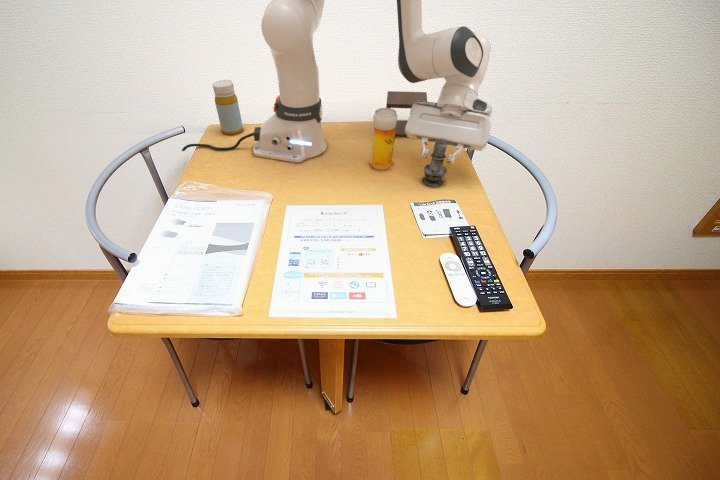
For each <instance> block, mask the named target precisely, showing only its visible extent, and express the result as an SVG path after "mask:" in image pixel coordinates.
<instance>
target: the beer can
mask: <svg viewBox="0 0 720 480" xmlns="http://www.w3.org/2000/svg"><path fill="white" fill-rule="evenodd" d="M397 120H398V114H397V111H396V110H395V108H386V107H381V108H377V109H376V110H375V111H374V114H373V118H372V130H371V144H370V159H369V160H370V161H369V163H370V165H371V167H372V168H374V169H375V170H380V171H381V170H382V171H383V170H387V169H389V168H390V167H391V166H392V164H393V157H394V151H395V142H396V141H395V139H396V136H395V133H396V124H397Z"/></svg>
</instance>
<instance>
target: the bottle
mask: <svg viewBox="0 0 720 480" xmlns="http://www.w3.org/2000/svg"><path fill="white" fill-rule="evenodd" d="M212 89H213V93H214V105H215V107H216V112H217V116H218V121H219V124H220V129H221V132H222V133H223V134H225V135H227V136H234V135H238V134H241V132H242V131H243V129H244V127H243V126H244V125H243V121H242V115H241V111H240V106H239V105H240V104H239V100H238V96H237V95H236V93H235V87H234V82H233V81H232V80H229V79H221V80H216V81H214V82H213V83H212Z"/></svg>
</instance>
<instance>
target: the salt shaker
mask: <svg viewBox="0 0 720 480" xmlns="http://www.w3.org/2000/svg"><path fill="white" fill-rule="evenodd" d="M447 147H448V145H446V143H445V142H443V139H441V141H438V142H434V146H433V149H432V153H431V154H430V158H431V159H430V160H431V161H430V163H428V164H426V165H424V167H423V171H424V177H423V178H422V183H423V184H424V185H425V186H427V187H431V188H439V187H441V186H443V185H444V180H443V178H444V177H445V176H446V174H447V173H448V169H447V167H446V166H444V161H445V159H446V158H447V157H446V156H447V155H446V151H447Z"/></svg>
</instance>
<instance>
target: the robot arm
mask: <svg viewBox="0 0 720 480" xmlns="http://www.w3.org/2000/svg"><path fill="white" fill-rule="evenodd" d="M324 5H325V0H271V1H270V2H268V4H267V6H266V8H265V10H264V11H263V12H264V13H263V16H262V18H261V27H260V28H261V33H262V36H263V39H264V41H265V42H266V44H267V46H268V47H269V49H270V53H271V56H272V59H273V63H274V66H275V69H276V76H277V82H278V83H277V85H278V91H279V94H278V95H277V97H276V98H275V102H274V104H273V105H274V106H273V108H272V110H273V113H274V114H273V115H271V116H270V117H269V118H268V119H267V120H266V121H264V122H263V124H262V126H255V127H254V129H253V132H251V133H249V134H246V135H243V136H242V137H240V138H239V139H238V140H237V142H236V143H235V144H234V145H232V146H229V147H220V146H219V147H218V146H213V145H211V144H208V143H189V144H186V145H184V146H183V147H182V149H181V152H185V151H186V150H187V149H188V148H192V147H200V148H201V147H202V148H209V149H212V150H216V151H232V150H234V149H237V148H238V146H239V145H240V144H241V143H242V142H243V141H244V140H247V139H248V138H250V137H253V138H254V139H253V140H254V143H253V146H252V152H253V156H255V157H260V158H265V159H273V160H279V161H284V162H290V163H298V164H299V163H302V162H303V161H306V160H307V159H310V158H314V157H318V156H320V155H321V154H323V153H324V152H325V151H326V149H327V145H328V144H327V142H326V139H325V135H324V131H323V130H324V129H323V124H322V119H323V104H322V99H321V97H320V71H319V66H318V65H317V61H316V56H315V51H314V42H313V40H314V33H315V32H316V31H317V30H318V28H319V27H320V25H321V20H322V17H323V11H324ZM396 9H397V10H396V11H397V27H398V51H397V52H398V53H397V65H398V69H399V72H400V74H401V76H402V77H403V78H404V79H405V81H407V82H409V83H411V84H416V83H420V82H425V81H427V80H435V79H436V80H437V79H444V80H445V82H444V84H443V86H442V88H441V90H440V92H439V96H438V99H437V102H433V101H427V102H425V101H419V102H416V103H415V104H413V106H412V108H410V111H409V115H410V116H409V117H408V120H407V121H408V122H407V124H406V127H405V133H406V135H407V137H406V138H411V139H416V140H420V142H421V146H422V152H421V158H423V159H428V158H429V155H430V149H427V147H426V146H428V144H429V142H430V143H436V142H438V141H441V139H443V142H445V143H446V145H447V146H451V147H456V150H455V152H454V153H452V154H451V153H449V154H448V157H447V160H446V163H448V164H451V165H453V164H454V163H455V160H456V158H457V157H458V156H459V155H461V154H462V152H463V150H464V149H468V150H474V151H477V152H482V151H483V150H485V149H486V148H487V145H488V141H489V137H490V133H491V126H492V120H491V117H492V113H493V106H492V104H491V103H489V102H487V101H485V100H483V99H481V98H479V97H478V96H479V89H480V86H481V84H482V83H483V81H484V78H485V76H486V73H487V69H488V65H489V61H490V55H491V48H492V46H491V45H492V43H491V41H490V39H489V38H488V37H487V36H486V35H484V34H483V33H480V32H477V31H475V32H474V31H472V29H470V28H469V27H468V26H464V25H463V26H455V27H450V28H446V29H443V30H440V31H436V32H432V33H431V32H430V33H425V32H424V31H423V12H422V11H423V8H422V0H396Z"/></svg>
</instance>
